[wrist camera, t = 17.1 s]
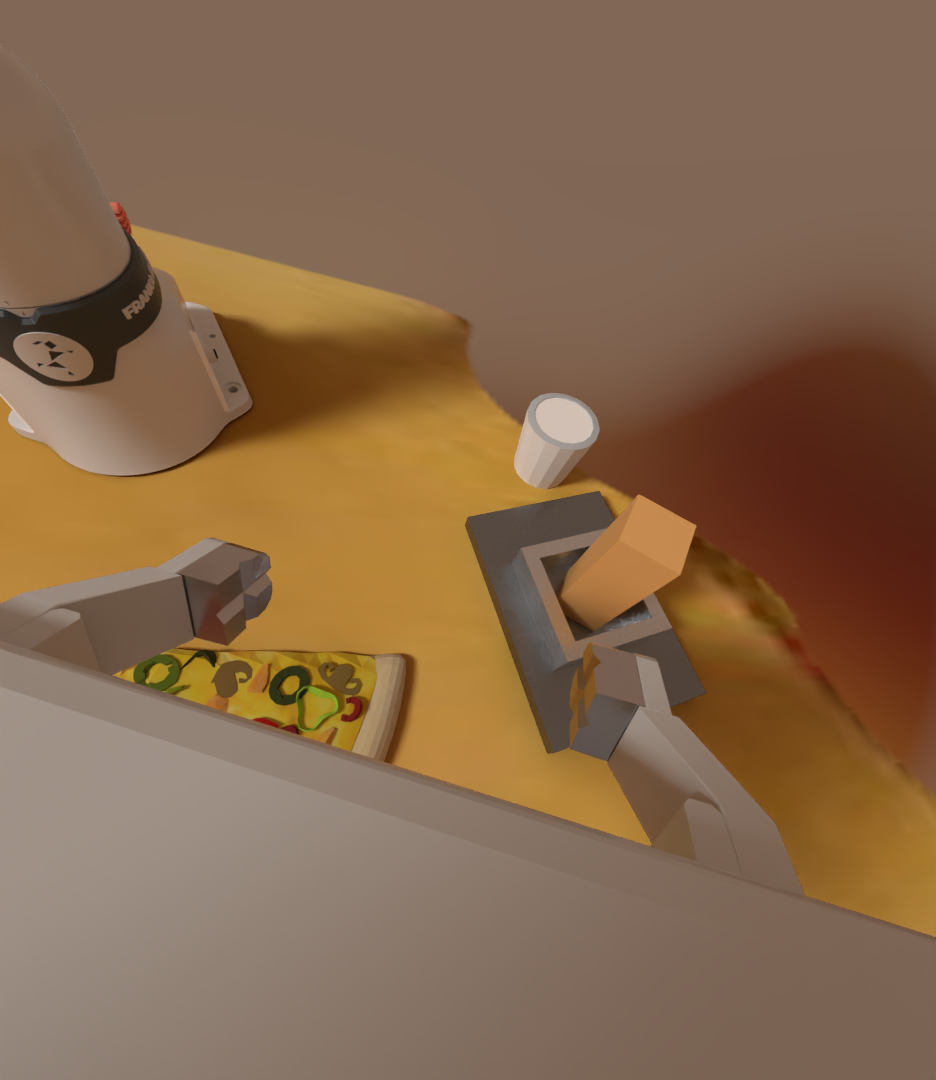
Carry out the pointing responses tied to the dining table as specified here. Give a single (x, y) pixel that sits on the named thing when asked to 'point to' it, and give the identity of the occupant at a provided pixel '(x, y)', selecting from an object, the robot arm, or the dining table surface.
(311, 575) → the dining table surface
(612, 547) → the orange rectangular block
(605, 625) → the square socket plate
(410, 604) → the dining table surface
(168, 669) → the pizza slice
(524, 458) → the white tapered cup
